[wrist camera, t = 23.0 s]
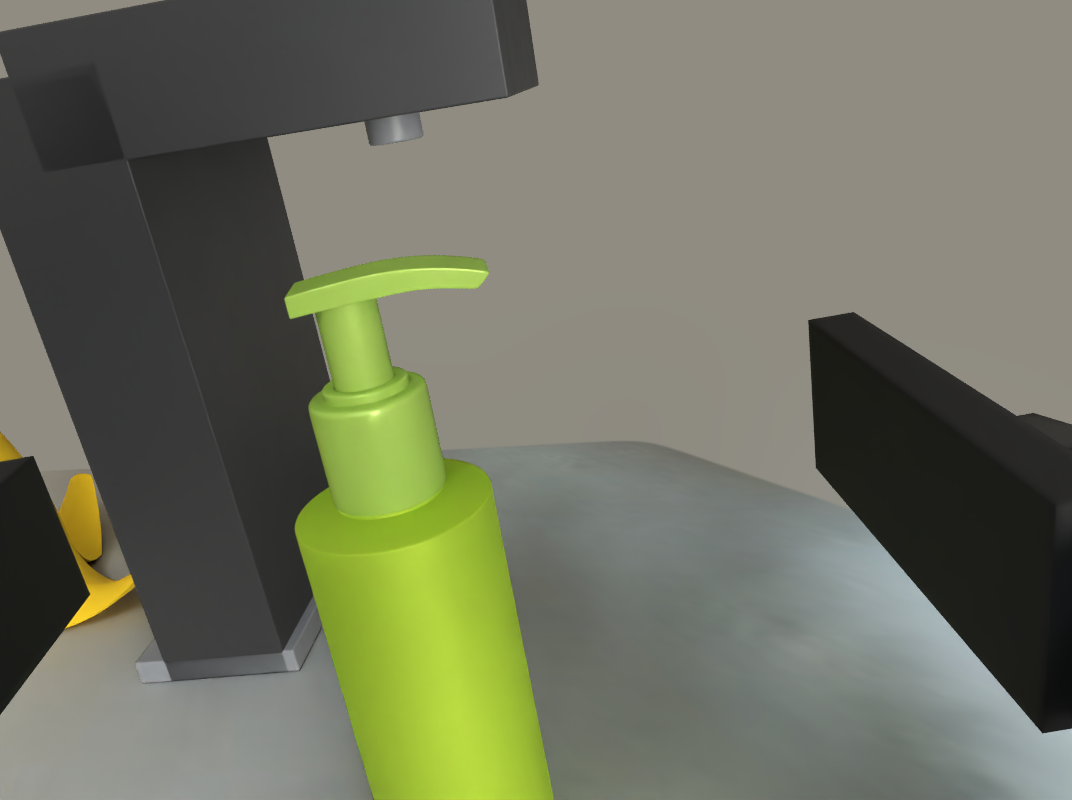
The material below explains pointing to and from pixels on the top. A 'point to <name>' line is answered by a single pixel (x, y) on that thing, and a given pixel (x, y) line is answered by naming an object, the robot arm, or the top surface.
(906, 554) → the robot arm
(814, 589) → the top surface
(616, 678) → the top surface
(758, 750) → the top surface
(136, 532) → the coffee maker
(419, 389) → the soap dispenser
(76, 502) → the banana peel
